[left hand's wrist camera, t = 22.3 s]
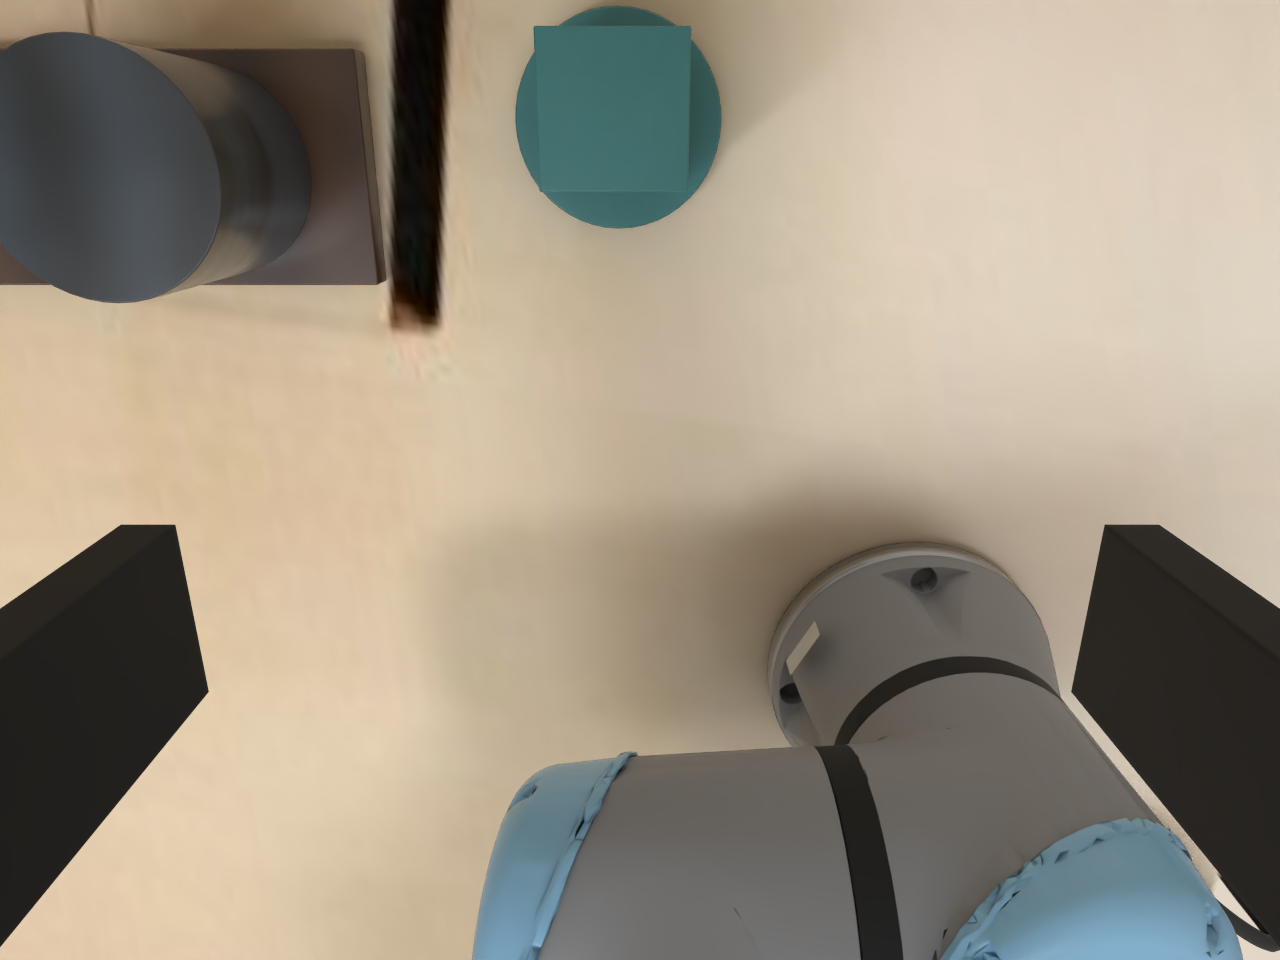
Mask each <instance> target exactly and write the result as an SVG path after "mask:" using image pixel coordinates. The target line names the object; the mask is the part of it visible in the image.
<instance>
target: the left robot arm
mask: <svg viewBox="0 0 1280 960" xmlns="http://www.w3.org/2000/svg"><path fill="white" fill-rule="evenodd" d="M768 684H769V690H770V695H771V699H772V703H773V707H774V710H775V714H776V718H777V720H778V722H779V725H780V727H781V729H782V731H783V733H784V735H785V737H786V738H787V740H788V741H789V743H790V744H791V746H792V747H790V748H772V749H755V750H738V751H720V752H703V753H686V754H669V755H651V756H638V754H637V752H624V753H621V754H620V755H618V756H617V757H616V758H610V759H601V760H592V761H583V762H575V763H566V764H557V765H553V766H549V767H547V768H544V769H542V770H540V771H539V772H537V773H535V774H534V775H533V776H532V777H530V778H529V779H528V780H527V781H526V782H525V783H524V784H523V785H522V787H521V788H520V789H519V790H518V792H517V793H516V795H515V797H514V798H513V800H512V802H511V804H510V806H509V808H508V811H507V813H506V815H505V817H504V819H503V821H502V824H501V827H500V829H499V832H498V835H497V838H496V841H495V845H494V848H493V851H492V854H491V858H490V862H489V866H488V870H487V874H486V879H485V883H484V888H483V892H482V897H481V902H480V908H479V914H478V920H477V926H476V932H475V939H474V947H473V955H472V960H1243V956H1242V952H1241V948H1240V944H1239V941H1238V938H1237V935H1239V936H1240V937H1242V938H1243V939H1245V940H1247V941H1248V942H1250V943H1251V944H1253V945H1255V946H1257V947H1259V948H1262V949H1264V950H1267V951H1271V952H1275V951H1279V950H1280V609H1279V608H1278V607H1276V606H1275V605H1274V604H1272V603H1271V602H1269V601H1268V600H1266V599H1265V598H1263V597H1262V596H1261V595H1259V594H1258V593H1256V592H1255V591H1253V590H1252V589H1251V588H1249V587H1248V586H1246V585H1245V584H1243V583H1242V582H1240V581H1239V580H1238V579H1236V578H1235V577H1233V576H1232V575H1230V574H1229V573H1228V572H1226V571H1225V570H1223V569H1222V568H1220V567H1219V566H1218V565H1216V564H1215V563H1213V562H1212V561H1210V560H1209V559H1207V558H1206V557H1205V556H1203V555H1202V554H1200V553H1199V552H1197V551H1196V550H1195V549H1193V548H1192V547H1190V546H1189V545H1187V544H1186V543H1184V542H1183V541H1182V540H1180V539H1179V538H1177V537H1176V536H1174V535H1173V534H1172V533H1170V532H1169V531H1167V530H1166V529H1164V528H1163V527H1161V526H1160V525H1105V526H1104V531H1103V536H1102V541H1101V546H1100V551H1099V556H1098V561H1097V566H1096V571H1095V576H1094V581H1093V586H1092V591H1091V596H1090V601H1089V606H1088V611H1087V616H1086V621H1085V626H1084V631H1083V636H1082V641H1081V646H1080V651H1079V656H1078V661H1077V666H1076V671H1075V676H1074V681H1073V686H1072V691H1071V692H1072V693H1073V694H1074V696H1075V697H1076V698H1077V699H1078V701H1079V702H1080V703H1081V704H1082V705H1083V707H1084V708H1085V709H1086V710H1087V712H1088V713H1089V714H1090V715H1091V716H1092V718H1093V719H1094V720H1095V721H1096V723H1097V724H1098V725H1099V726H1100V727H1101V729H1102V730H1103V731H1104V732H1105V734H1106V735H1107V736H1108V737H1109V739H1110V740H1111V741H1112V742H1113V743H1114V745H1115V746H1116V747H1117V748H1118V750H1119V751H1120V752H1121V753H1122V754H1123V756H1124V757H1125V758H1126V759H1127V761H1128V762H1129V763H1130V764H1131V765H1132V767H1133V768H1134V769H1135V770H1136V772H1137V773H1138V774H1139V775H1140V776H1141V778H1142V779H1143V780H1144V781H1145V783H1146V784H1147V785H1148V786H1149V787H1150V789H1151V790H1152V791H1153V792H1154V794H1155V795H1156V796H1157V797H1158V799H1159V800H1160V801H1161V802H1162V803H1163V805H1164V806H1165V807H1166V808H1167V810H1168V811H1169V812H1170V813H1171V814H1172V816H1173V817H1174V818H1175V819H1176V821H1177V822H1178V823H1179V824H1180V825H1181V827H1182V828H1183V829H1184V830H1185V832H1186V833H1187V834H1188V835H1189V836H1190V838H1191V839H1192V840H1193V841H1194V843H1195V844H1196V845H1197V846H1198V847H1199V849H1200V850H1201V851H1202V852H1203V854H1204V855H1205V856H1206V857H1207V858H1208V860H1209V861H1210V862H1211V863H1212V865H1213V866H1214V867H1215V868H1216V870H1217V871H1218V872H1219V874H1218V877H1219V878H1220V879H1221V881H1222V882H1223V883H1224V885H1225V886H1226V887H1227V889H1228V890H1229V891H1230V893H1231V894H1232V895H1233V897H1234V898H1235V899H1236V901H1237V902H1238V903H1239V904H1240V906H1241V907H1242V908H1243V909H1244V911H1245V912H1246V913H1247V914H1248V916H1249V917H1250V918H1251V919H1252V921H1253V922H1254V923H1255V925H1256V926H1257V927H1258V929H1259V930H1260V931H1259V930H1258V929H1256V928H1254V927H1253V926H1251V925H1250V924H1248V923H1247V922H1245V921H1244V920H1242V919H1241V918H1239V917H1238V916H1237V915H1235V914H1234V913H1233V912H1231V911H1230V910H1229V909H1227V908H1226V907H1225V906H1224V905H1223V904H1221V903H1220V902H1219V901H1218V900H1217V899H1216V898H1215V897H1214V895H1213V893H1212V892H1211V890H1210V889H1209V887H1208V886H1207V884H1206V883H1205V881H1204V880H1203V878H1202V877H1201V875H1200V874H1199V872H1198V871H1197V869H1196V868H1195V866H1194V865H1193V863H1192V862H1191V861H1192V859H1191V856H1190V854H1189V853H1188V851H1187V849H1186V847H1185V845H1184V844H1183V843H1182V842H1181V841H1180V839H1179V838H1178V837H1177V836H1175V835H1174V834H1173V833H1172V832H1171V831H1170V829H1168V828H1165V827H1164V825H1163V824H1162V823H1161V822H1160V821H1159V819H1158V818H1157V817H1156V816H1155V814H1154V813H1153V812H1152V811H1151V809H1150V808H1149V807H1148V806H1147V805H1146V803H1145V802H1144V801H1143V800H1142V798H1141V797H1140V796H1139V795H1138V793H1137V792H1136V791H1135V790H1134V788H1133V787H1132V786H1131V785H1130V784H1129V782H1128V781H1127V780H1126V779H1125V777H1124V776H1123V775H1122V774H1121V772H1120V771H1119V770H1118V769H1117V768H1116V766H1115V765H1114V764H1113V763H1112V761H1111V760H1110V759H1109V758H1108V756H1107V755H1106V754H1105V753H1104V751H1103V750H1102V749H1101V748H1100V746H1099V745H1098V744H1097V743H1096V741H1095V740H1094V739H1093V738H1092V736H1091V735H1090V734H1089V733H1088V731H1087V730H1086V729H1085V728H1084V726H1083V725H1082V724H1081V723H1080V721H1079V720H1078V719H1077V718H1076V716H1075V715H1074V714H1073V713H1072V711H1071V710H1070V709H1069V708H1068V707H1067V705H1066V704H1065V703H1064V701H1063V700H1062V699H1061V696H1060V691H1059V687H1058V682H1057V677H1056V672H1055V668H1054V663H1053V658H1052V654H1051V649H1050V644H1049V641H1048V637H1047V634H1046V632H1045V630H1044V627H1043V625H1042V622H1041V620H1040V618H1039V616H1038V614H1037V612H1036V610H1035V609H1034V607H1033V606H1032V604H1031V603H1030V602H1029V600H1028V599H1027V598H1026V596H1025V595H1024V594H1023V593H1022V592H1021V591H1020V590H1019V589H1018V587H1017V586H1016V585H1015V584H1014V583H1013V582H1012V581H1011V580H1010V579H1009V578H1008V576H1006V575H1005V574H1004V573H1003V572H1002V571H1001V570H999V569H998V568H997V567H995V566H994V565H992V564H991V563H990V562H988V561H986V560H984V559H983V558H981V557H979V556H977V555H975V554H972V553H970V552H967V551H965V550H962V549H958V548H955V547H951V546H946V545H941V544H934V543H916V542H911V543H898V544H892V545H886V546H881V547H877V548H873V549H870V550H867V551H864V552H861V553H858V554H856V555H853V556H851V557H849V558H847V559H844V560H843V561H841V562H839V563H837V564H835V565H834V566H832V567H830V568H829V569H827V570H826V571H824V572H823V573H822V574H820V575H819V576H818V577H816V578H815V579H814V580H813V581H812V582H810V583H809V584H808V585H807V586H806V587H805V588H804V589H803V590H802V591H801V592H800V593H799V594H798V596H797V597H796V598H795V599H794V600H793V602H792V603H791V604H790V606H789V607H788V609H787V610H786V612H785V613H784V615H783V617H782V619H781V620H780V622H779V624H778V627H777V629H776V631H775V634H774V637H773V640H772V643H771V647H770V652H769V657H768ZM208 692H209V691H208V686H207V681H206V676H205V671H204V666H203V661H202V656H201V651H200V646H199V641H198V636H197V631H196V626H195V621H194V616H193V611H192V606H191V601H190V596H189V591H188V586H187V581H186V576H185V571H184V566H183V561H182V556H181V551H180V546H179V541H178V536H177V531H176V526H175V525H120V526H119V527H117V528H116V529H114V530H113V531H111V532H110V533H108V534H107V535H106V536H104V537H103V538H101V539H100V540H98V541H97V542H96V543H94V544H93V545H91V546H90V547H88V548H87V549H85V550H84V551H83V552H81V553H80V554H78V555H77V556H75V557H74V558H73V559H71V560H70V561H68V562H67V563H65V564H64V565H62V566H61V567H60V568H58V569H57V570H55V571H54V572H52V573H51V574H50V575H48V576H47V577H45V578H44V579H42V580H41V581H40V582H38V583H37V584H35V585H34V586H32V587H31V588H29V589H28V590H27V591H25V592H24V593H22V594H21V595H19V596H18V597H17V598H15V599H14V600H12V601H11V602H9V603H8V604H6V605H5V606H4V607H2V608H1V609H0V947H1V945H2V944H3V943H4V942H5V941H6V939H7V938H8V937H9V936H10V934H11V933H12V932H13V931H14V930H15V928H16V927H17V926H18V925H19V923H20V922H21V921H22V920H23V918H24V917H25V916H26V915H27V914H28V912H29V911H30V910H31V909H32V907H33V906H34V905H35V904H36V903H37V901H38V900H39V899H40V898H41V896H42V895H43V894H44V893H45V892H46V890H47V889H48V888H49V887H50V885H51V884H52V883H53V882H54V881H55V879H56V878H57V877H58V876H59V874H60V873H61V872H62V871H63V870H64V868H65V867H66V866H67V865H68V863H69V862H70V861H71V860H72V858H73V857H74V856H75V855H76V854H77V852H78V851H79V850H80V849H81V847H82V846H83V845H84V844H85V843H86V841H87V840H88V839H89V838H90V836H91V835H92V834H93V833H94V832H95V830H96V829H97V828H98V827H99V825H100V824H101V823H102V822H103V821H104V819H105V818H106V817H107V816H108V814H109V813H110V812H111V811H112V810H113V808H114V807H115V806H116V805H117V803H118V802H119V801H120V800H121V799H122V797H123V796H124V795H125V794H126V792H127V791H128V790H129V789H130V787H131V786H132V785H133V784H134V783H135V781H136V780H137V779H138V778H139V776H140V775H141V774H142V773H143V772H144V770H145V769H146V768H147V767H148V765H149V764H150V763H151V762H152V761H153V759H154V758H155V757H156V756H157V754H158V753H159V752H160V751H161V750H162V748H163V747H164V746H165V745H166V743H167V742H168V741H169V740H170V739H171V737H172V736H173V735H174V734H175V732H176V731H177V730H178V729H179V727H180V726H181V725H182V724H183V723H184V721H185V720H186V719H187V718H188V716H189V715H190V714H191V713H192V712H193V710H194V709H195V708H196V707H197V705H198V704H199V703H200V702H201V701H202V699H203V698H204V697H205V696H206V694H207V693H208ZM1236 934H1237V935H1236Z"/></svg>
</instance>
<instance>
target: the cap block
mask: <svg viewBox="0 0 1280 960" xmlns="http://www.w3.org/2000/svg"><path fill="white" fill-rule="evenodd" d="M534 50H535V52H534V53H533V55H532V57H531V59H530V61H529V62H528V64H527V66H526V69H525V71H524V74H523V76H522V79H521V82H520V86H519V90H518V95H517V102H516V130H517V138H518V142H519V146H520V151H521V153H522V156H523V159H524V162H525V164H526V166H527V168H528V170H529V172H530V174H531V176H532V177H533V179H534V180H535V182H536V183H537V185H538V186H539V188H540V191H541V192H544V194H545V195H546V196H547V197H548V198H549V199H550V200H551V201H552V202H553V203H554V204H556V205H557V206H558V207H559V208H561V209H562V210H563V211H565V212H566V213H568V214H569V215H571V216H573V217H575V218H577V219H579V220H581V221H584V222H587V223H590V224H592V225H596V226H601V227H606V228H632V227H637V226H642V225H646V224H649V223H652V222H654V221H657V220H659V219H661V218H663V217H665V216H667V215H669V214H670V213H672V212H673V211H675V210H676V209H678V208H679V207H680V206H681V205H682V204H684V203H685V202H686V201H687V200H688V199H689V198H690V197H691V196H692V195H693V193H694V192H695V191H696V190H697V189H698V188H699V186H700V184H701V183H702V181H703V180H704V178H705V177H706V175H707V173H708V171H709V169H710V167H711V165H712V163H713V160H714V157H715V154H716V151H717V147H718V142H719V138H720V129H721V106H720V99H719V93H718V89H717V86H716V82H715V79H714V76H713V74H712V71H711V69H710V67H709V64H708V63H707V61H706V59H705V58H704V56H703V54H702V52H701V51H700V50H699V48H698V47H697V46H696V45H695V43H694V42H693V41H692V40H691V27H690V26H676V25H674V24H673V23H672V22H670V21H668V20H667V19H665V18H663V17H661V16H659V15H657V14H655V13H652V12H649V11H647V10H644V9H639V8H635V7H628V6H607V7H600V8H596V9H591V10H588V11H586V12H583V13H580V14H578V15H576V16H574V17H572V18H570V19H568V20H567V21H565V22H563V23H562V24H561V25H560V26H534Z"/></svg>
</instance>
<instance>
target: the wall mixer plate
mask: <svg viewBox="0 0 1280 960" xmlns="http://www.w3.org/2000/svg"><path fill="white" fill-rule="evenodd" d="M384 281H386V272H385V262H384V252H383V242H382V232H381V222H380V211H379V201H378V191H377V181H376V171H375V161H374V151H373V141H372V131H371V121H370V110H369V100H368V90H367V80H366V70H365V60H364V54H363V53H362V52H359V51H357V50H354V49H149V48H145V47H141V46H136V45H132V44H128V43H124V42H119V41H115V40H111V39H107V38H102V37H98V36H93V35H89V34H84V33H75V32H53V33H44V34H40V35H36V36H31V37H28V38H26V39H23V40H21V41H19V42H16V43H14V44H13V45H11V46H9V47H8V48H6V49H0V285H53V286H54V287H57V288H59V289H61V290H63V291H66V292H68V293H70V294H73V295H76V296H79V297H82V298H85V299H89V300H95V301H100V302H109V303H130V302H138V301H143V300H148V299H152V298H155V297H159V296H163V295H166V294H170V293H174V292H177V291H181V290H184V289H188V288H192V287H195V286H199V285H378V284H380V283H382V282H384Z"/></svg>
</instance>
